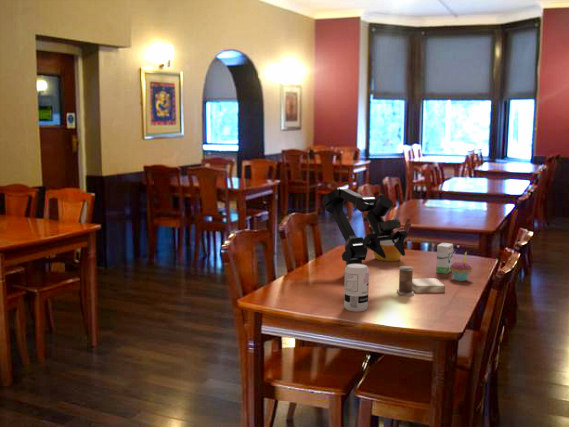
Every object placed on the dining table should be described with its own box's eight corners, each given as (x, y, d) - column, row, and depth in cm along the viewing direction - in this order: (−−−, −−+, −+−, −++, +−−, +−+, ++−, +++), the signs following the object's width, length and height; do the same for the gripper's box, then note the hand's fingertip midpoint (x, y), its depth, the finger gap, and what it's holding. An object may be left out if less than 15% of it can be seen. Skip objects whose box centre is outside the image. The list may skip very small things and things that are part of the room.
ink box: (447, 274, 267) (448, 246, 266) (435, 272, 270) (436, 245, 268) (452, 270, 275) (453, 243, 273) (441, 268, 277) (442, 242, 276)
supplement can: (341, 305, 221) (342, 263, 219) (365, 305, 222) (366, 263, 220) (346, 312, 213) (347, 268, 211) (370, 312, 214) (371, 268, 212)
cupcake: (471, 278, 261) (472, 249, 260) (470, 282, 253) (471, 253, 252) (450, 276, 264) (451, 247, 262) (448, 281, 256) (449, 251, 254)
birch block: (416, 293, 239) (416, 285, 238) (408, 286, 250) (408, 278, 249) (444, 293, 240) (445, 285, 239) (435, 285, 250) (435, 278, 250)
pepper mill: (400, 295, 234) (401, 269, 233) (396, 291, 239) (397, 266, 238) (414, 295, 235) (415, 269, 233) (410, 291, 240) (411, 265, 238)
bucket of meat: (364, 261, 291) (365, 218, 288) (370, 254, 307) (372, 213, 304) (408, 264, 285) (409, 220, 282) (412, 257, 300) (414, 215, 297)
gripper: (367, 212, 239) (384, 246, 231) (406, 209, 248) (424, 242, 240) (354, 230, 247) (371, 263, 239) (392, 226, 256) (409, 258, 248)
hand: (394, 256), depth 241 cm, fingers open, 9 cm apart
